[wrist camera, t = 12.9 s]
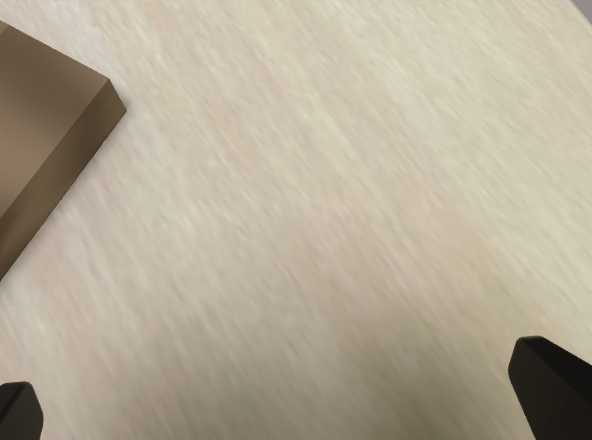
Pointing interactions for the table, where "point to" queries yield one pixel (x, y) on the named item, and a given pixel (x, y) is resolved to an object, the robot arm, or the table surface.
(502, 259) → the table surface
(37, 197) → the holder block
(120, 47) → the table surface
